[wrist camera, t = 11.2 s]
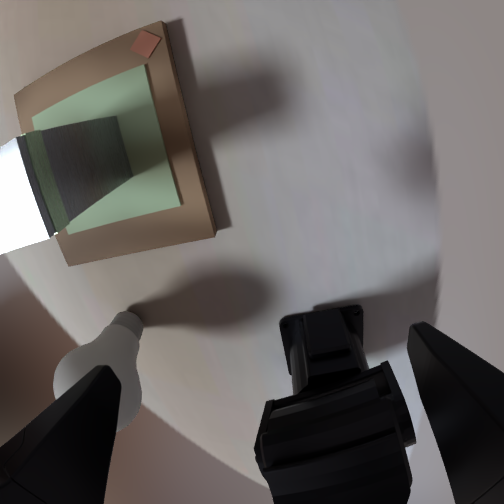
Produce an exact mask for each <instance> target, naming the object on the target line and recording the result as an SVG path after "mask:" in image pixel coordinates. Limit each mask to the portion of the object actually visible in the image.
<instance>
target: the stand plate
mask: <svg viewBox="0 0 504 504" xmlns="http://www.w3.org/2000/svg"><path fill="white" fill-rule="evenodd" d="M14 99H15V104H16V109H17V114H18V119H19V123H20V128H21V132H22V135H23V134H25V133H28V132H32V131H36V130H46V129H50V128H54V127H58V126H63V125H67V124H72V123H77V122H82V121H87V120H93V119H98V118H104V117H110V116H117V119H118V123H119V127H120V131H121V135H122V138H123V142H124V145H125V149H126V152H127V156H128V159H129V163H130V166H131V170H132V173H133V176H134V177H133V178H131V179H129V180H128V181H126V182H125V183H123V184H122V185H120V186H119V187H118V188H116V189H115V190H113V191H112V192H110V193H109V194H107V195H106V196H105V197H103V198H102V199H100V200H99V201H97V202H96V203H95V204H93V205H92V206H91V207H89V208H88V209H86V210H85V211H84V212H82V213H81V214H80V215H78V216H77V217H76V218H74V219H73V220H72V221H70V224H69V225H68V226H66V227H65V228H64V229H63V230H61V231H60V232H59V233H58V234H55V236H56V239H57V241H58V244H59V246H60V248H61V251H62V253H63V255H64V258H65V260H66V262H67V264H68V266H74V265H78V264H83V263H88V262H93V261H97V260H102V259H107V258H112V257H117V256H122V255H126V254H131V253H136V252H141V251H146V250H151V249H156V248H161V247H166V246H172V245H177V244H182V243H187V242H192V241H197V240H203V239H208V238H213V237H215V236H216V232H217V229H216V225H215V222H214V218H213V214H212V211H211V207H210V203H209V199H208V196H207V192H206V188H205V184H204V180H203V177H202V173H201V169H200V165H199V161H198V157H197V153H196V149H195V145H194V141H193V137H192V133H191V129H190V125H189V121H188V117H187V113H186V109H185V105H184V101H183V97H182V92H181V88H180V84H179V80H178V75H177V71H176V67H175V62H174V58H173V54H172V49H171V45H170V40H169V36H168V31H167V27H166V24H165V23H164V22H162V21H158V22H155V23H153V24H150V25H147V26H144V27H142V28H139V29H136V30H134V31H131V32H129V33H126V34H124V35H122V36H119V37H117V38H115V39H112V40H110V41H108V42H106V43H104V44H101V45H99V46H97V47H95V48H93V49H91V50H89V51H87V52H85V53H83V54H81V55H79V56H77V57H75V58H73V59H71V60H70V61H68V62H66V63H64V64H62V65H61V66H59V67H57V68H55V69H54V70H52V71H50V72H49V73H47V74H45V75H44V76H42V77H40V78H39V79H37V80H36V81H34V82H32V83H31V84H29V85H28V86H26V87H25V88H23V89H22V90H20V91H19V92H17V93H16V94H15V95H14Z"/></svg>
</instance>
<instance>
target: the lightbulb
mask: <svg viewBox="0 0 504 504" xmlns="http://www.w3.org/2000/svg"><path fill="white" fill-rule="evenodd" d="M142 332H143V323H142V321H141V320H140V318H139V317H138V316H137V315H135V314H134V313H131V312H127V311H124V312H120V313H118V314H117V315H116V316H115V318H114V319H113V321H112V322H111V324H110V325H109V326H107V327H106V328H104V330H103V331H102V333H101V334H100V335H99V336H98V337H97V338H96V339H95V340H94V341H92V342H91V343H88V344H85V345H82V346H80V347H78V348H76V349H74V350H72V351H70V352H69V353H68V354H67V355H66V356H65V357H63V358H62V360H61V361H60V363H59V365H58V367H57V368H56V372H55V375H54V384H53V387H54V394H55V398H56V400H57V399H58V398H59V397H60V396H61V395H62V394H64V393H65V392H66V391H67V390H68V389H69V388H71V387H72V386H73V385H74V384H75V383H76V382H78V381H79V380H80V379H81V378H82V377H83V376H85V375H86V374H87V373H88V372H89V371H90V370H92V369H93V368H94V367H95V366H97V365H109V366H110V367H111V368H112V370H113V371H114V373H115V374H116V376H117V377H118V379H119V380H120V382H121V385H122V390H121V398H120V406H119V415H118V424H117V431H120V430H121V429H123V428H125V427H126V426H128V425H129V424H130V423H131V422H132V421H133V419H134V418H135V417H136V415H137V413H138V411H139V409H140V405H141V399H142V391H141V385H140V380H139V375H138V372H137V369H136V359H137V354H138V351H139V340H140V338H141V335H142ZM117 431H116V432H117Z"/></svg>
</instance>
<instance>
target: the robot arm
mask: <svg viewBox="0 0 504 504" xmlns="http://www.w3.org/2000/svg"><path fill="white" fill-rule="evenodd" d="M355 311H358V312H356V313H354V312H355ZM285 323H287V324H288V325H283V324H285ZM279 327H280V332H281V336H282V341H283V346H284V351H285V356H286V361H287V366H288V371H289V374H290V375H292V385H293V395H292V396H288V397H285V398H281V399H278V400H274V399H273V400H269V401H266V404H265V408H264V412H263V415H262V419H261V423H260V427H259V430H258V434H257V438H256V442H255V446H254V451H255V454H256V456H255V459H256V462H257V463H258V466H259V469H260V471H261V474H262V475H263V477H264V478H265V480H266V481H267V483H268V485H269V488H270V491H271V494H272V497H273V502H274V504H407V502H408V499H409V496H410V491H411V490H410V487H411V484H412V474H411V470H410V466H409V462H408V458H407V454H406V450H405V447H408V446H411V445H413V444H416V437H415V432H414V428H413V424H412V420H411V417H410V414H409V411H408V407H407V404H406V402H405V399H404V396H403V394H402V391H401V389H400V387H399V384H398V382H397V380H396V377H395V375H394V373H393V371H392V368H391V366H390V364H389V362H388V360H387V361H385V362H382V363H380V364H381V365H379V366H376V367H374V368H371V369H369V366H368V363H367V360H366V357H365V354H364V351H363V309H362V307H361V306H360V305H353V306H348V307H343V308H337V309H332V310H327V311H321V312H315V313H310V314H304V315H298V316H292V317H286V318H282V319H281V320H280V321H279ZM407 351H408V355H409V358H410V362H411V365H412V369H413V372H414V376H415V380H416V383H417V387H418V391H419V395H420V398H421V401H422V404H423V406H424V409H425V411H426V414H427V417H428V419H429V422H430V425H431V428H432V430H433V433H434V436H435V439H436V442H437V445H438V448H439V451H440V454H441V457H442V460H443V463H444V466H445V469H446V472H447V476H448V479H449V482H450V486H451V489H452V492H453V496H454V500H455V503H456V504H504V373H503V372H502V371H500V370H499V369H497V368H496V367H494V366H493V365H491V364H490V363H488V362H487V361H485V360H483V359H482V358H480V357H479V356H477V355H476V354H475V353H473V352H471V351H470V350H468V349H467V348H465V347H464V346H462V345H461V344H459V343H458V342H456V341H455V340H453V339H451V338H450V337H448V336H447V335H445V334H444V333H442V332H441V331H439V330H437V329H436V328H434V327H433V326H431V325H430V324H428V323H426V322H424V321H422V322H418V323H414V324H412V325H411V326H410V329H409V336H408V343H407ZM121 390H122V385H121V382H120V380H119V379H118V377H117V376H116V374H115V373H114V371H113V370H112V368H111V367H110V366H109V365H97V366H95V367H94V368H93V369H92V370H90V371H89V372H88V373H87V374H86V375H85V376H83V377H82V378H81V379H80V380H79V381H78V382H76V383H75V384H74V385H73V386H72V387H71V388H69V389H68V390H67V391H66V392H65V393H64V394H62V395H61V396H60V397H59V398H58V399H57V400H55V401H54V402H53V403H52V404H51V405H50V406H49V407H47V408H46V409H45V410H44V411H43V412H41V413H40V414H39V415H38V416H37V417H36V418H35V419H33V420H32V421H31V422H30V423H29V424H28V425H26V427H24V428H23V429H22V430H21V431H20V432H18V433H17V434H16V435H15V436H14V437H12V438H11V439H10V440H9V441H8V442H6V443H5V444H4V445H2V446H1V447H0V504H104V498H105V491H106V485H107V479H108V472H109V467H110V462H111V456H112V451H113V446H114V441H115V436H116V431H117V424H118V415H119V406H120V398H121Z"/></svg>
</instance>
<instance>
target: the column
mask: <svg viewBox="0 0 504 504" xmlns="http://www.w3.org/2000/svg"><path fill="white" fill-rule="evenodd" d="M133 177H134V176H133V173H132V170H131V166H130V163H129V159H128V156H127V152H126V149H125V145H124V142H123V138H122V135H121V131H120V127H119V123H118V119H117V116H110V117H104V118H98V119H93V120H87V121H82V122H77V123H72V124H67V125H63V126H58V127H54V128H50V129H46V130H36V131H32V132H28V133H25V134H23V135H21V136H19V137H16V138H14V139H13V140H11V141H9V142H8V143H6V144H5V145H3V146H2V147H0V254H2V253H5V252H8V251H11V250H14V249H17V248H20V247H23V246H26V245H29V244H32V243H35V242H38V241H42V240H45V239H48V238H50V237H51V236H53V235H54V234H58V233H59V232H60V231H61V230H63V229H64V228H65V227H66V226H68V225H69V224H70V221H72V220H73V219H74V218H76V217H77V216H78V215H80V214H81V213H82V212H84V211H85V210H86V209H88V208H89V207H91V206H92V205H93V204H95V203H96V202H97V201H99V200H100V199H102V198H103V197H105V196H106V195H107V194H109V193H110V192H112V191H113V190H115V189H116V188H118V187H119V186H120V185H122V184H123V183H125V182H126V181H128V180H129V179H131V178H133Z"/></svg>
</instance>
